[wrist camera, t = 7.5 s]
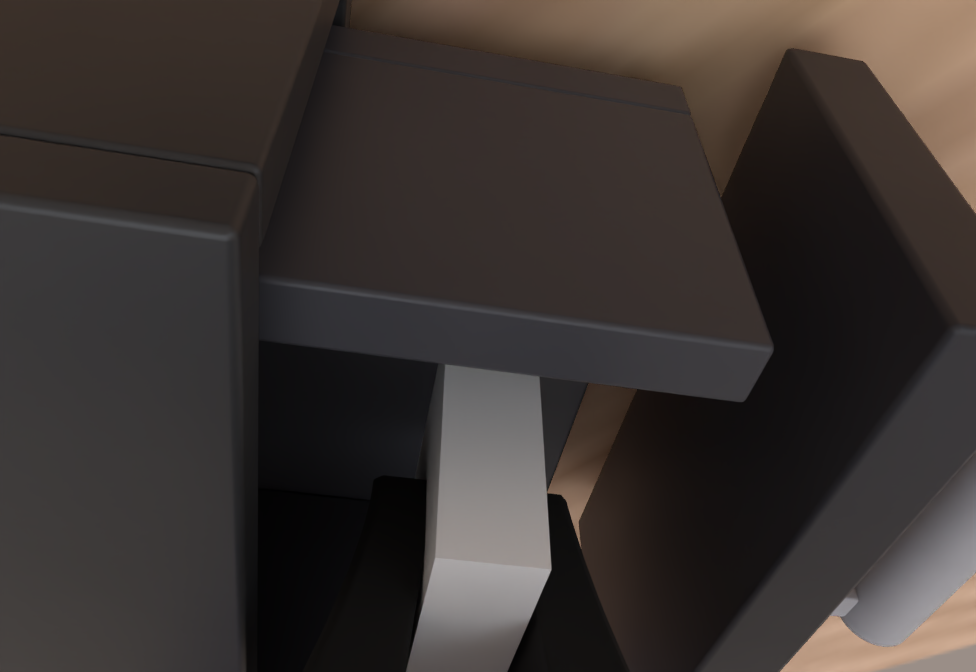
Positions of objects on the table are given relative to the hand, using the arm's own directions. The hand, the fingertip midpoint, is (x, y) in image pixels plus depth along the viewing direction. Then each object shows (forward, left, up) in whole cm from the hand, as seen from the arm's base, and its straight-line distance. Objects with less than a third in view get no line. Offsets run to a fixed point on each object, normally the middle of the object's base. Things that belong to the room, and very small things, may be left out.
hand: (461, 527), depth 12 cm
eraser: (0, 0, -2) cm, 2 cm away
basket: (0, 0, -5) cm, 5 cm away
